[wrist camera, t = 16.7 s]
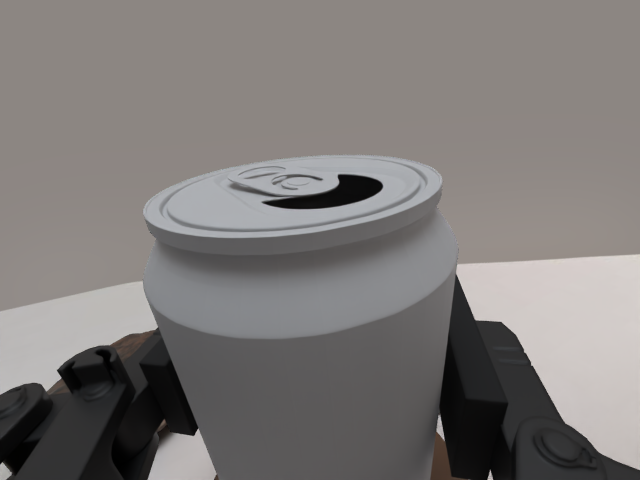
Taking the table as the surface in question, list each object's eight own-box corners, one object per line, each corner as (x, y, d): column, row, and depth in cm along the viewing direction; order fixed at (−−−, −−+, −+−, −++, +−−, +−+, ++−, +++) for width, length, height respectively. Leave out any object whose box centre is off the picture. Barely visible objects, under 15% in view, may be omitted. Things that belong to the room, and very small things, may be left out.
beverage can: (352, 722, 7) (286, 324, 2) (211, 507, 11) (70, 194, 6) (452, 481, 11) (514, 152, 6) (323, 388, 15) (297, 144, 10)
